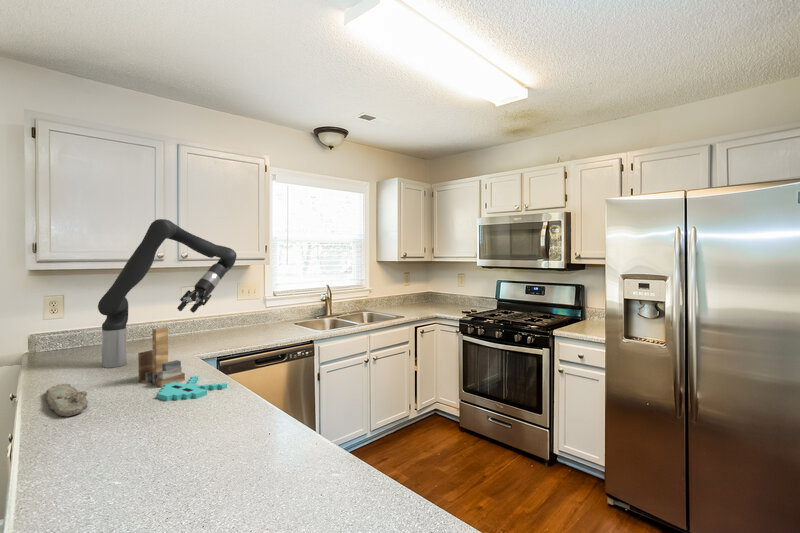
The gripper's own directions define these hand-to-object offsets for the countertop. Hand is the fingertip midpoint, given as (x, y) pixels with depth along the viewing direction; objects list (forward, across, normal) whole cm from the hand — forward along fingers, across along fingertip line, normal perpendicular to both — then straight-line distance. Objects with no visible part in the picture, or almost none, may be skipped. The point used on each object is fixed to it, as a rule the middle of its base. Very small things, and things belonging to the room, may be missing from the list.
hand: (185, 310), depth 175 cm
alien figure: (+30, +21, +10) cm, 38 cm away
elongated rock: (+50, -7, -9) cm, 51 cm away
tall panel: (+28, 0, +12) cm, 30 cm away
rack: (+28, -2, +12) cm, 30 cm away
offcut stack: (+28, +6, +12) cm, 31 cm away
